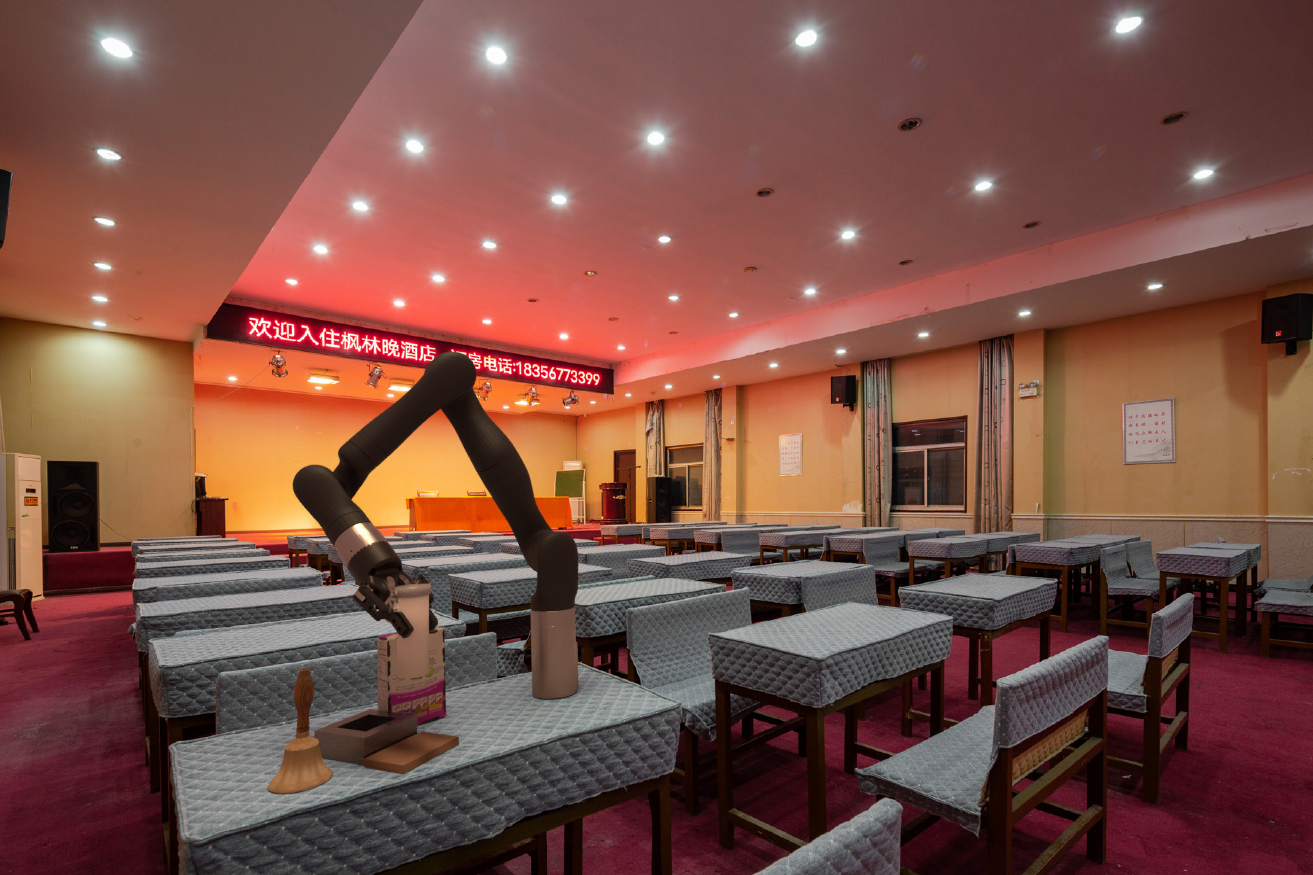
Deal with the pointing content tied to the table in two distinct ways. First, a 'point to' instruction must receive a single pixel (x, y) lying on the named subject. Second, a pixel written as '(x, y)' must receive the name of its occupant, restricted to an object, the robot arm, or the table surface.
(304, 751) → the hand bell
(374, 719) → the housing
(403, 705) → the candy bar box
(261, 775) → the table surface
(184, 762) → the table surface
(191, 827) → the table surface
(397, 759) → the board
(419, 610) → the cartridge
